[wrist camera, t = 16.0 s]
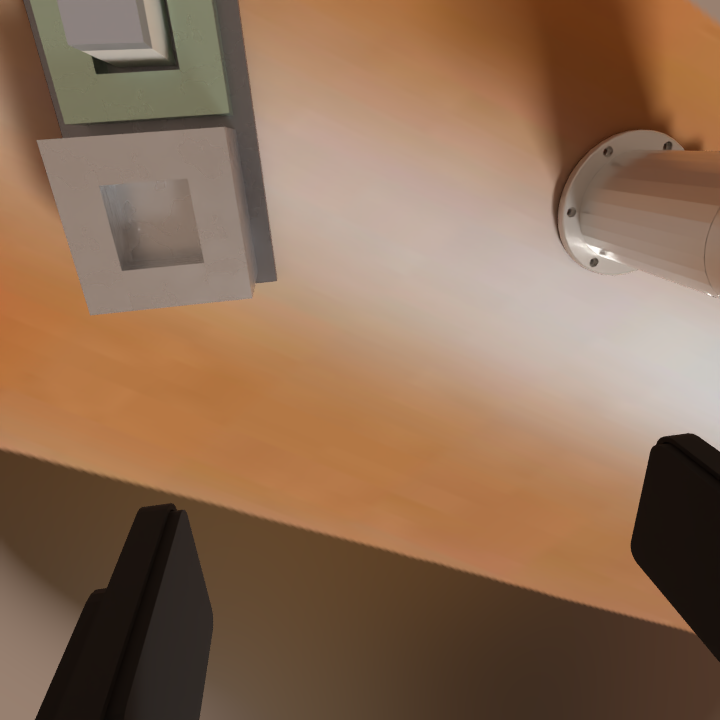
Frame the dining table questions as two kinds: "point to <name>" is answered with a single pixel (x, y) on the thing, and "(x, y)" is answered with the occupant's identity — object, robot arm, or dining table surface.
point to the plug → (119, 31)
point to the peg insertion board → (158, 164)
